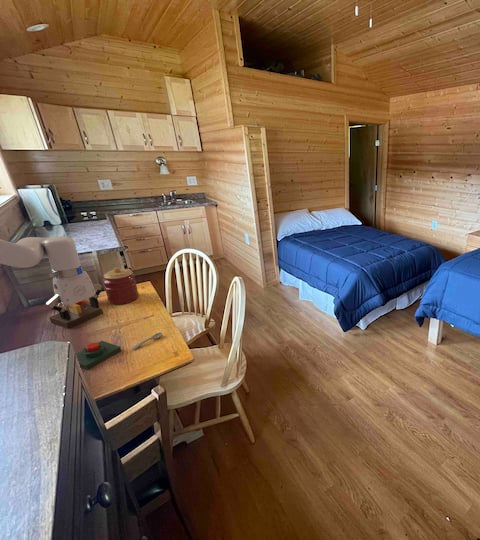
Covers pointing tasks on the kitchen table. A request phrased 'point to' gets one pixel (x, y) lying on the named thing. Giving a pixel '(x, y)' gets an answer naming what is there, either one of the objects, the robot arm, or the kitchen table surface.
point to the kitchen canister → (120, 286)
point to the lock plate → (77, 316)
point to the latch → (75, 309)
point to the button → (92, 347)
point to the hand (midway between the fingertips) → (81, 313)
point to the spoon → (147, 340)
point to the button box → (97, 355)
